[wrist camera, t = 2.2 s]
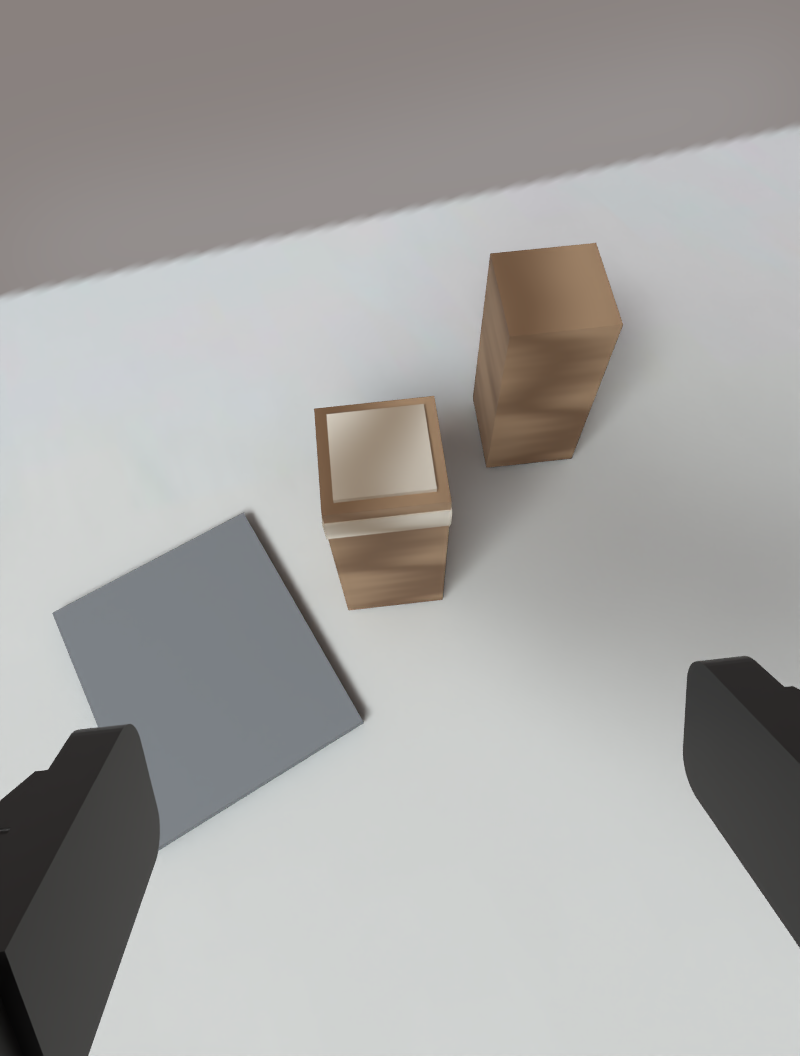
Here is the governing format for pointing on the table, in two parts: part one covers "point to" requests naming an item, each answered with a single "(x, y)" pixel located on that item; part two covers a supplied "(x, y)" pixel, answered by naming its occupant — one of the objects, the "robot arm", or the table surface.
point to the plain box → (542, 351)
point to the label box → (385, 500)
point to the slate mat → (207, 672)
